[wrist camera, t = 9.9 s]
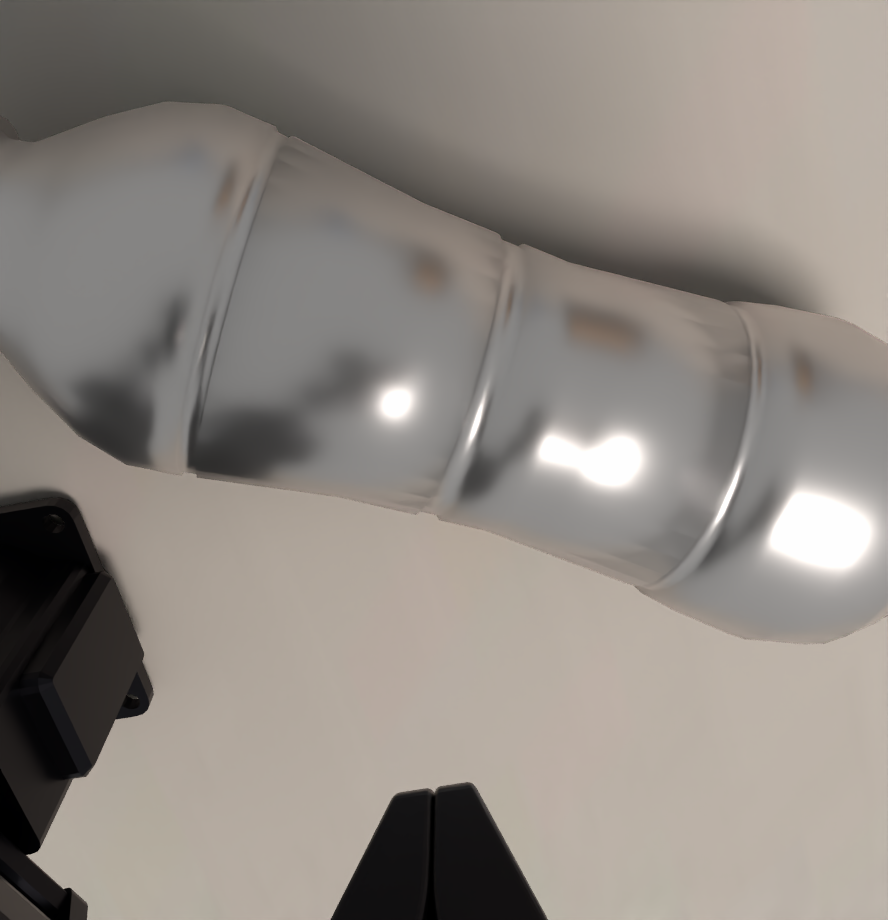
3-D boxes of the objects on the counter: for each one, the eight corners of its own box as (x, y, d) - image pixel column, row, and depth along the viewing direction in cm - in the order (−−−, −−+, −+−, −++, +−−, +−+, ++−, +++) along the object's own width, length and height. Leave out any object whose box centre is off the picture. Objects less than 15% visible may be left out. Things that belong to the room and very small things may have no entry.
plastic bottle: (766, 655, 20) (-123, 422, 17) (811, 388, 22) (-8, 121, 18) (992, 689, 14) (-344, 333, 11) (1038, 312, 15) (-147, -116, 12)
